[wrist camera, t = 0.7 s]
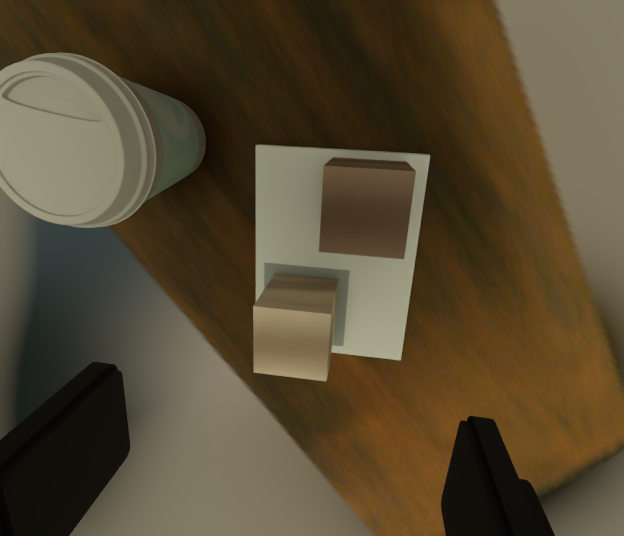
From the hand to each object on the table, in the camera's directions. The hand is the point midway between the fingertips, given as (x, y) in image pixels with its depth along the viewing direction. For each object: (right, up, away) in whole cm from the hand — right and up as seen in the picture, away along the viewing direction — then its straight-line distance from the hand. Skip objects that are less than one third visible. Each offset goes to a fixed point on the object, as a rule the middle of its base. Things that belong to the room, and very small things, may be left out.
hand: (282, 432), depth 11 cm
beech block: (0, +1, +21) cm, 21 cm away
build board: (+3, +5, +20) cm, 21 cm away
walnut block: (+5, +10, +17) cm, 20 cm away
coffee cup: (-10, +14, +19) cm, 26 cm away
